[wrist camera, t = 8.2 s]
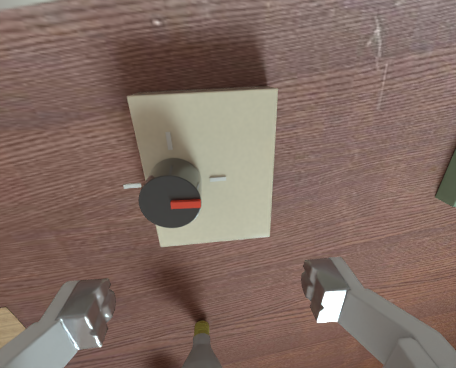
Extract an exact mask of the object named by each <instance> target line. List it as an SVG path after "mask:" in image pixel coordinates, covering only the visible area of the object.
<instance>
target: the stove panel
mask: <svg viewBox="0 0 456 368" xmlns="http://www.w3.org/2000/svg"><path fill="white" fill-rule="evenodd" d="M277 98H278V89H277V88H274V87H270V86H256V87H235V88H215V89H195V90H175V91H155V92H137V93H135V94H132V95H129V96H127V100H128V105H129V109H130V114H131V118H132V123H133V127H134V131H135V136H136V140H137V145H138V149H139V154H140V158H141V162H142V167H143V171H144V176H145V180H147V178H148V176H149V174H150V172H151V170H152V168H153V167H154V166H155V165H156V164H157V163H159V162H160V161H162V160H165V159H169V158H179V159H183V160H186V161H188V162H190V163H191V164H193V165H194V166H195V167H196V168H197V170H198V171H199V173H200V175H201V179H202V203H201V210H200V212H199V214H198V216H197V217H196V218H195V219H194V220H193V221H192V222H191V223H189V224H187V225H185V226H182V227H178V228H165V227H161V226H158V225H156V224H155V225H156V229H157V233H158V238H159V242H160V246H161V247H167V246H177V245H188V244H198V243H209V242H219V241H230V240H240V239H250V238H261V237H270V224H271V206H272V188H273V170H274V152H275V134H276V116H277ZM123 186H124V189H125V188H138V187H142V186H141V183H131V184H123Z"/></svg>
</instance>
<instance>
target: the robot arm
mask: <svg viewBox="0 0 456 368" xmlns="http://www.w3.org/2000/svg"><path fill="white" fill-rule="evenodd" d="M303 267H304V269H305V271H304V272H303V273H302V276H301V283H302V288H303V292H304V294H305V296H306V298H308V299H309V300H310V301H311V305H310V308H311V310H312V312H313V315H314V317H315V319H316V321H317V323H319V322H332V321H338V323H339V324H340V325H341V326H342V327H344V328H345V329H346V330H347V331H348V332H349V333H350V334H351V335H352V336H353V337H354V338H355V339H356V340H358V341H359V342H360V343H361V344H362V345H363V346H364V347H365V348H366V349H367V350H368V351H369V352H370V353H371V354H373V355H374V356H375V357H376V358H377V359H378V360H379V361H380V362H381V363H382V364H383V365H384V366H383V368H456V351H455V350H454V348H453V347H452V346H451V345H450V344H449V343H448V342H447V340H446V339H445V338H444V337H443V336H442V335H441V334H440V333H439V332H438V331H436V330H434V329H433V328H431V327H430V326H428V325H426V324H425V323H423V322H422V321H420V320H418V319H417V318H415V317H413V316H412V315H410V314H409V313H407V312H405V311H404V310H402V309H401V308H399V307H397V306H396V305H394V304H392V303H391V302H389V301H388V300H386V299H384V298H383V297H381V296H380V295H378V294H376V293H375V292H373V291H371V290H370V289H365V288H364V287H363V286H362V284H361V283H360V282H359V280H358V279H357V277H356V276H355V275H354V273H353V272H352V271H351V269H350V268H349V267H348V265H347V264H346V262H345V261H344V260H343V258H341V257H332V258H320V259H311V260H305V261H304V265H303ZM110 286H111V283H110V281H109V279H91V280H78V281H67V282H66V283H65V284H63V285H62V287H61V289H60V290H59V292H58V293H57V295H56V296H55V298H54V299H53V301H52V302H51V304H50V305H49V307H48V308H47V310H46V311H45V313H44V315H43V316H42V318H41V319H40V321H39V322H36V323H33V324H32V325H31V326H29V327H28V328H27V329H25V330H24V331H23V332H21V333H20V334H19V335H18V336H16V337H15V338H14V339H12V340H11V341H10V342H8V343H7V344H6V345H4V346H3V347H2V348H1V349H0V368H63V367H64V366H65V365H66V364H67V363H68V362H69V361H70V359H71V358H72V357H73V356H74V355H75V354H76V353H77V350H81V349H88V348H95V347H101V346H102V343H103V341H104V338H105V335H106V333H107V330H108V326H107V324H106V323H107V322H108V321H109V320H110V319H111V318H112V316H113V314H114V311H115V305H116V297H115V293H114V292H113V291H112V290H110V289H109V288H110Z"/></svg>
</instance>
